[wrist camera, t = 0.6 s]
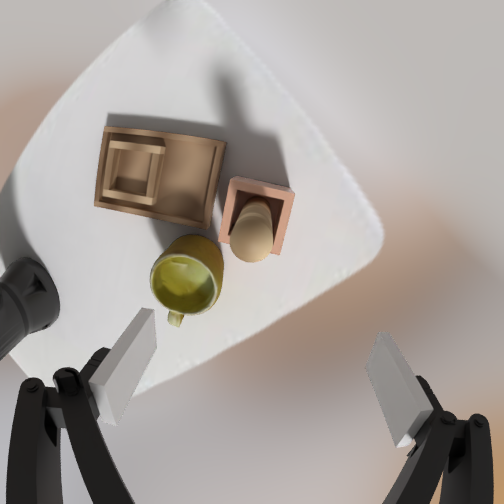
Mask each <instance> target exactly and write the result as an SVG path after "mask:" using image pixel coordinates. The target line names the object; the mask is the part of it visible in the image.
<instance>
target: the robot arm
mask: <svg viewBox="0 0 504 504" xmlns="http://www.w3.org/2000/svg"><path fill="white" fill-rule="evenodd" d="M59 312H60V303H59V297H58V293H57V290H56V288H55V285H54V283H53V281H52V279H51V278H50V276H49V275H48V273H47V272H46V271H45V269H44V268H43V267H42V266H41V265H40V264H38V263H37V262H36V261H34V260H32V259H30V258H20V259H18V260H16V261H14V262H13V263H12V264H10V265H9V267H8V268H7V270H6V271H5V272H4V274H3V275H2V276H1V277H0V360H2V359H3V357H5V356H6V355H7V354H8V353H9V352H10V351H11V350H12V349H13V348H14V347H15V346H16V345H17V344H18V343H19V342H20V341H21V340H22V339H23V338H24V337H26V336H27V335H28V334H31V333H34V332H37V331H40V330H44V329H46V328H48V327H50V326H51V325H52V324H53V323H54V322H55V321H56V320H57V318H58V316H59ZM156 349H157V344H156V331H155V317H154V310H152V309H146V308H141V310H140V311H139V312H138V314H137V315H136V316H135V318H134V319H133V320H132V322H131V323H130V324H129V326H128V327H127V328H126V330H125V331H124V332H123V334H122V335H121V336H120V338H119V339H118V341H117V342H116V343H115V345H114V346H113V347H112V349H108V348H104V347H102V348H101V349H99V350H98V351H96V352H95V353H94V354H93V356H92V357H91V359H89V361H88V362H87V364H86V365H85V366H84V367H83V369H82V370H81V371H80V373H79V372H78V371H77V370H76V369H74V368H70V367H65V368H61V369H59V370H58V371H56V372H55V373H54V375H53V382H54V384H55V387H56V388H54V387H45V385H44V383H43V382H42V380H40V379H39V378H34V377H33V378H28V379H26V380H25V381H24V382H22V384H21V386H20V390H19V394H18V399H17V404H16V409H15V415H14V420H13V425H12V432H11V439H10V447H9V455H8V467H7V483H6V504H63V497H62V484H61V462H60V461H61V460H60V436H61V434H60V433H61V428H66V429H67V432H68V435H69V439H70V442H71V445H72V449H73V452H74V455H75V458H76V461H77V463H78V466H79V469H80V472H81V475H82V477H83V480H84V483H85V485H86V487H87V490H88V492H89V495H90V497H91V499H92V501H93V504H135V502H134V500H133V499H132V497H131V495H130V493H129V491H128V489H127V488H126V486H125V484H124V482H123V480H122V478H121V476H120V474H119V472H118V470H117V468H116V466H115V463H114V462H113V459H112V457H111V455H110V452H109V450H108V448H107V446H106V443H105V441H104V438H103V436H102V433H101V431H100V429H99V426H98V423H97V421H96V420H97V418H98V417H99V415H100V417H101V419H102V422H105V423H107V424H110V425H114V426H117V425H118V423H119V421H120V419H121V417H122V415H123V413H124V411H125V408H126V407H127V405H128V403H129V401H130V399H131V397H132V395H133V393H134V391H135V389H136V387H137V385H138V383H139V381H140V379H141V377H142V375H143V373H144V371H145V369H146V368H147V366H148V364H149V362H150V360H151V358H152V356H153V354H154V352H155V350H156ZM365 368H366V371H367V373H368V376H369V378H370V381H371V383H372V386H373V388H374V391H375V393H376V396H377V398H378V401H379V403H380V406H381V409H382V411H383V414H384V417H385V419H386V422H387V425H388V428H389V430H390V433H391V436H392V439H393V441H394V444H395V447H402V446H408V445H409V444H410V443H411V441H412V440H413V439H415V442H416V445H415V446H414V447H413V448H412V450H411V451H410V452H409V453H408V455H407V456H409V457H408V459H407V461H406V463H405V465H404V467H403V469H402V471H401V472H400V474H399V476H398V478H397V480H396V482H395V483H394V485H393V487H392V489H391V490H390V492H389V494H388V495H387V497H386V499H385V500H384V502H383V503H382V504H430V501H431V499H432V496H433V494H434V492H435V490H436V487H437V485H438V482H439V480H440V477H441V475H442V472H443V479H442V488H441V495H440V502H439V504H493V494H494V493H493V492H494V490H493V488H494V485H493V484H494V483H493V458H492V447H491V436H490V428H489V423H488V420H487V419H486V417H484V416H483V415H480V414H473V415H472V416H471V417H470V418H469V420H457V418H456V416H455V415H454V414H452V413H451V412H448V411H444V410H443V409H442V407H441V405H440V403H439V402H438V400H437V398H436V396H435V395H434V394H433V391H432V389H430V386H429V384H428V383H427V381H426V380H425V379H424V378H422V377H421V376H415V375H414V373H413V371H412V369H411V368H410V366H409V365H408V363H407V361H406V360H405V358H404V356H403V354H402V352H401V351H400V349H399V348H398V346H397V344H396V343H395V341H394V339H393V338H392V336H391V335H390V333H389V332H378V334H377V337H376V340H375V343H374V345H373V348H372V351H371V354H370V356H369V359H368V362H367V364H366V367H365Z"/></svg>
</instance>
